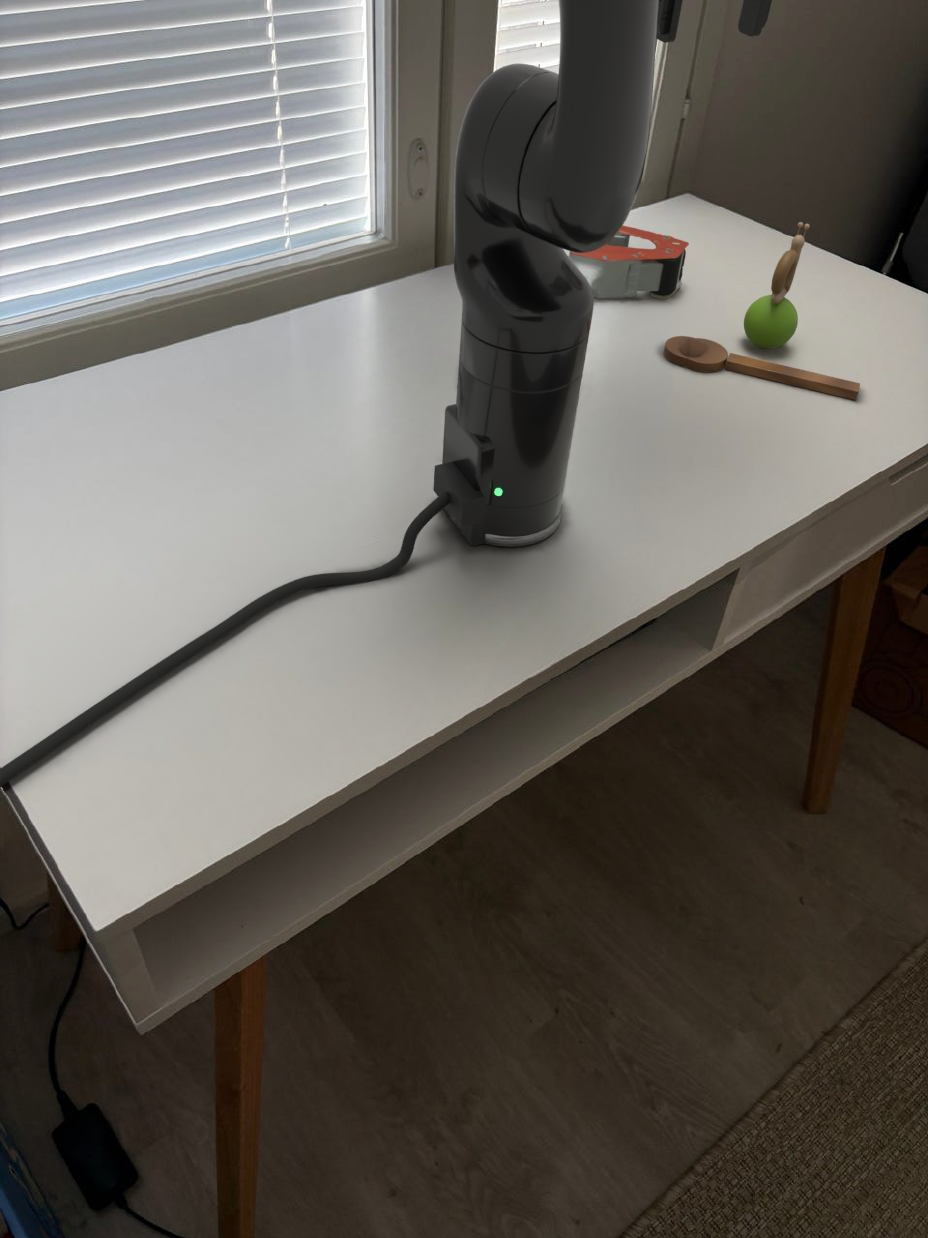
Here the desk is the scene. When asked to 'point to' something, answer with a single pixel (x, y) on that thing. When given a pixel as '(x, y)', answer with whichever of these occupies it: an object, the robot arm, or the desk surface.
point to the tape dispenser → (633, 265)
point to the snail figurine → (776, 303)
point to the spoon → (751, 366)
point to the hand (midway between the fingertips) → (706, 36)
